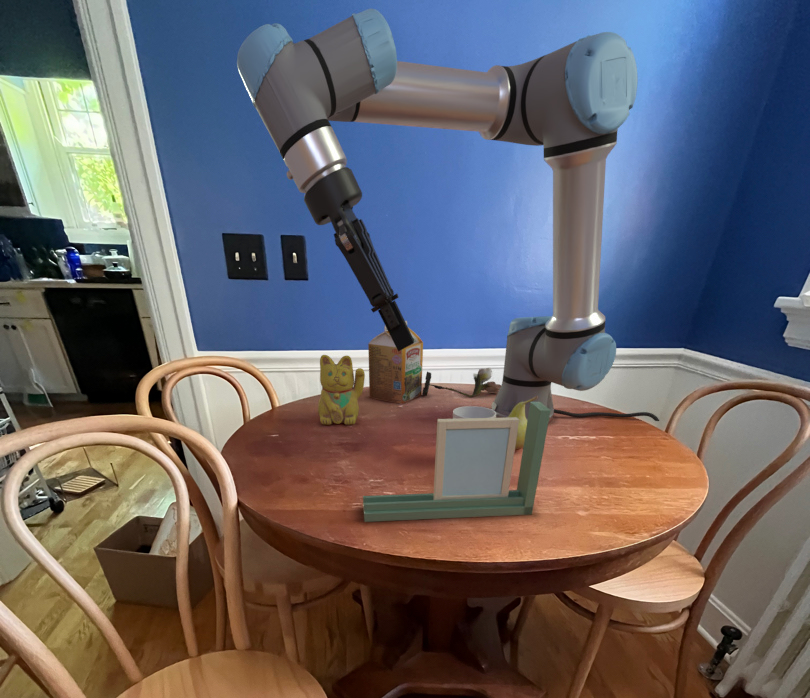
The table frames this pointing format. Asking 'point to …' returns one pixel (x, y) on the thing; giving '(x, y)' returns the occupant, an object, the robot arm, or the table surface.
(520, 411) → the fruit
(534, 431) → the green l-shaped bracket
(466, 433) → the window pane
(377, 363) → the milk carton
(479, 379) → the artificial flower
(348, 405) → the figurine
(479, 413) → the cup
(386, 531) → the table surface
